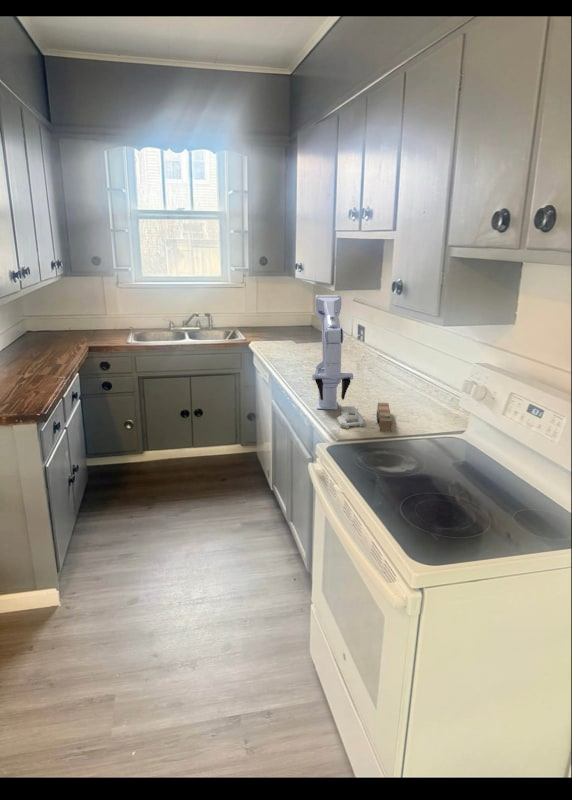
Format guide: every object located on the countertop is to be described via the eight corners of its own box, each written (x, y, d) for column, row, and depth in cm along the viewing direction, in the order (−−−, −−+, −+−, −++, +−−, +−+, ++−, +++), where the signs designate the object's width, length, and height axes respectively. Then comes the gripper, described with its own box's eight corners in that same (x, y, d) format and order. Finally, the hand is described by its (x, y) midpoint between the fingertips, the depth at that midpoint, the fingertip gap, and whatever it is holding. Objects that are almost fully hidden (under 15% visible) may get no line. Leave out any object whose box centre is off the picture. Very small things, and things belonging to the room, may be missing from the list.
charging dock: (375, 412, 203) (376, 401, 201) (387, 412, 202) (388, 401, 201) (378, 431, 184) (378, 419, 182) (391, 431, 183) (392, 419, 182)
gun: (332, 404, 202) (357, 403, 203) (332, 412, 203) (357, 411, 204) (341, 423, 185) (369, 422, 186) (341, 432, 186) (368, 431, 187)
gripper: (313, 364, 181) (313, 402, 184) (355, 364, 182) (354, 401, 185) (311, 360, 188) (311, 397, 191) (351, 359, 188) (350, 396, 192)
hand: (332, 399), depth 189 cm, fingers open, 7 cm apart
